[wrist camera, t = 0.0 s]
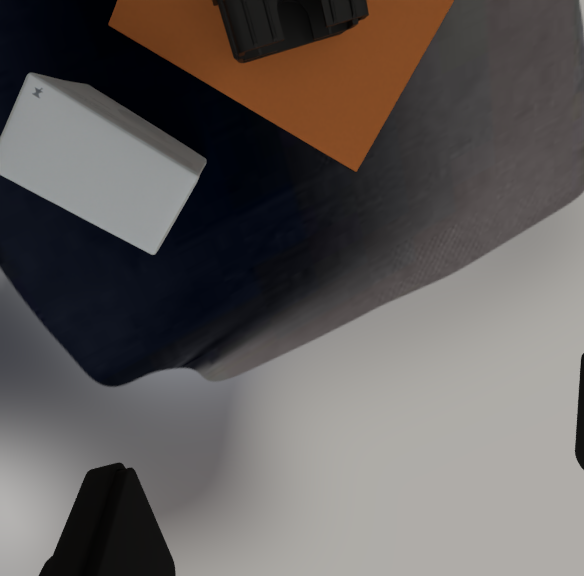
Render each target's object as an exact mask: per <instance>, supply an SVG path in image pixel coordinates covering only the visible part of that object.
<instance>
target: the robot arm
mask: <svg viewBox="0 0 584 576" xmlns="http://www.w3.org/2000/svg"><path fill="white" fill-rule="evenodd" d="M575 455H576V458H577V461H578V463H579V464H580V466H581V467H582V469H584V353H583V355H582V357H581V368H580V384H579V399H578V414H577V429H576V445H575ZM39 576H175V566H174V561H173V559H172V556H171V554H170V551H169V549H168V547H167V544H166V542H165V540H164V537H163V535H162V533H161V530H160V528H159V526H158V523H157V521H156V519H155V516H154V514H153V512H152V509H151V507H150V505H149V502H148V500H147V498H146V495H145V493H144V491H143V488H142V486H141V484H140V481H139V479H138V477H137V474H136V472H135V470H134V469H133V468H127V469H126V468H125V467H124V465H123V464H122V463H115V464H111V465H107V466H103V467H99V468H95V469H91V470H90V471H88V472H87V474H86V476H85V478H84V481H83V483H82V485H81V488H80V490H79V493H78V495H77V498H76V501H75V502H74V505H73V507H72V510H71V512H70V515H69V517H68V520H67V522H66V525H65V527H64V529H63V532H62V534H61V537H60V539H59V542H58V544H57V547H56V549H55V551H54V554H53V556H52V557H51V558H50V559H49V560H48V561H47V562H46V563H45V565H44V566H43V568H42V570H41V572H40V574H39Z"/></svg>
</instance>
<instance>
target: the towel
mask: <svg viewBox="0 0 584 576" xmlns="http://www.w3.org/2000/svg"><path fill="white" fill-rule="evenodd" d="M453 1H454V0H367V6H368V11H369V16H367V17H366V18H365V19H363V20H360V21H359V22H358V23H359V24H357V25H356V26H355V27H353V28H351V29H349V30H346V31H345V32H343V33H342V34H340V35H336V36H333V37H330V38H326V39H323V40H320V41H316V42H313V43H310V44H306V45H303V46H300V47H296V48H293V49H290V50H287V51H283V52H280V53H277V54H273V55H270V56H267V57H263V58H260V59H257V60H253V61H250V62H247V63H239V62H238V61H237V60H236V59H234V57H233V54H232V50H231V47H230V44H229V40H228V37H227V34H226V30H225V27H224V23H223V20H222V17H221V13H220V10H219V7H218V5H217V6H213V2H212V0H117V3H116V6H115V8H114V11H113V14H112V16H111V19H110V21H109V24H108V25H109V26H111V27H112V28H114V29H116V30H117V31H119V32H121V33H122V34H124V35H126V36H127V37H129V38H131V39H133V40H134V41H136V42H138V43H139V44H141V45H143V46H144V47H146V48H148V49H149V50H151V51H153V52H154V53H156V54H158V55H159V56H161V57H163V58H165V59H166V60H168V61H170V62H171V63H173V64H175V65H176V66H178V67H180V68H181V69H183V70H185V71H186V72H188V73H190V74H191V75H193V76H195V77H197V78H198V79H200V80H202V81H203V82H205V83H207V84H208V85H210V86H212V87H213V88H215V89H217V90H218V91H220V92H222V93H224V94H225V95H227V96H229V97H230V98H232V99H234V100H235V101H237V102H239V103H240V104H242V105H244V106H245V107H247V108H249V109H250V110H252V111H254V112H256V113H257V114H259V115H261V116H262V117H264V118H266V119H267V120H269V121H271V122H272V123H274V124H276V125H277V126H279V127H281V128H283V129H284V130H286V131H288V132H289V133H291V134H293V135H294V136H296V137H298V138H299V139H301V140H303V141H304V142H306V143H308V144H309V145H311V146H313V147H315V148H316V149H318V150H320V151H321V152H323V153H325V154H326V155H328V156H330V157H331V158H333V159H335V160H336V161H338V162H340V163H342V164H343V165H345V166H347V167H348V168H350V169H352V170H353V171H355V172H357V170H358V168H359V167H360V165H361V163H362V161H363V159H364V158H365V156H366V154H367V152H368V151H369V149H370V147H371V145H372V144H373V142H374V140H375V138H376V137H377V135H378V133H379V131H380V130H381V128H382V126H383V124H384V123H385V121H386V119H387V117H388V116H389V114H390V112H391V110H392V109H393V107H394V105H395V103H396V101H397V100H398V98H399V96H400V94H401V93H402V91H403V89H404V87H405V86H406V84H407V82H408V80H409V79H410V77H411V75H412V73H413V72H414V70H415V68H416V66H417V65H418V63H419V61H420V59H421V58H422V56H423V54H424V52H425V51H426V49H427V47H428V45H429V44H430V42H431V40H432V38H433V36H434V35H435V33H436V31H437V29H438V28H439V26H440V24H441V22H442V21H443V19H444V17H445V15H446V14H447V12H448V10H449V8H450V7H451V5H452V3H453Z"/></svg>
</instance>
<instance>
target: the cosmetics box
mask: <svg viewBox="0 0 584 576" xmlns="http://www.w3.org/2000/svg"><path fill="white" fill-rule="evenodd" d="M205 165H206V158H204V157H202V156H201V155H199V154H198V153H196V152H195V151H193V150H192V149H190V148H189V147H187V146H186V145H184V144H182V143H181V142H179V141H178V140H176V139H175V138H173V137H171V136H170V135H168V134H167V133H165V132H163V131H162V130H160V129H159V128H157V127H156V126H154V125H152V124H151V123H149V122H148V121H146V120H144V119H143V118H141V117H140V116H138V115H136V114H135V113H133V112H132V111H130V110H128V109H127V108H125V107H124V106H122V105H120V104H119V103H117V102H116V101H114V100H112V99H111V98H109V97H107V96H106V95H104V94H102V93H101V92H99V91H98V90H96V89H94V88H93V87H91V86H90V85H88V84H83V83H76V82H69V81H64V80H60V79H56V78H52V77H48V76H44V75H40V74H36V73H29V74H28V75H27V77H26V79H25V81H24V84H23V86H22V88H21V91H20V93H19V95H18V98H17V100H16V102H15V105H14V107H13V109H12V112H11V114H10V116H9V119H8V121H7V123H6V126H5V128H4V130H3V132H2V135H1V137H0V175H1V176H3V177H5V178H7V179H9V180H11V181H13V182H15V183H17V184H19V185H20V186H22V187H24V188H26V189H28V190H30V191H32V192H34V193H36V194H37V195H39V196H41V197H43V198H45V199H47V200H49V201H51V202H53V203H55V204H57V205H59V206H60V207H62V208H64V209H66V210H68V211H70V212H72V213H73V214H75V215H77V216H79V217H81V218H83V219H85V220H87V221H89V222H91V223H93V224H94V225H96V226H98V227H100V228H102V229H104V230H106V231H108V232H110V233H111V234H113V235H115V236H117V237H119V238H121V239H123V240H125V241H127V242H129V243H130V244H132V245H134V246H136V247H138V248H140V249H142V250H144V251H146V252H148V253H150V254H152V255H155V254H156V252H157V251H158V249H159V248H160V246H161V244H162V243H163V241H164V239H165V237H166V236H167V234H168V232H169V230H170V229H171V227H172V225H173V223H174V222H175V220H176V218H177V216H178V215H179V213H180V211H181V209H182V208H183V206H184V204H185V202H186V201H187V199H188V197H189V195H190V194H191V192H192V190H193V188H194V186H195V185H196V183H197V181H198V179H199V175H200V173H201V171H202V170H203V168H204V166H205Z"/></svg>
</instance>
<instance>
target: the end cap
mask: <svg viewBox="0 0 584 576" xmlns="http://www.w3.org/2000/svg"><path fill="white" fill-rule="evenodd" d="M212 2H213V6H217V5H218V7H219V10H220V13H221V17H222V20H223V23H224V27H225V30H226V34H227V37H228V40H229V44H230V47H231V50H232V54H233V57H234V59H236V60H237V61H238V62H239V63H247V62H250V61H253V60H257V59H260V58H263V57H267V56H270V55H273V54H277V53H280V52H283V51H287V50H290V49H293V48H296V47H300V46H303V45H306V44H310V43H313V42H316V41H320V40H323V39H326V38H330V37H333V36H336V35H340V34H342V33H343V32H345V31H346V30H349V29H351V28H353V27H355V26H356V25H357V24H359V23H358V22H359V21H360V20H363V19H365V18H366V17H367V16H369V11H368V6H367V0H212Z"/></svg>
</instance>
